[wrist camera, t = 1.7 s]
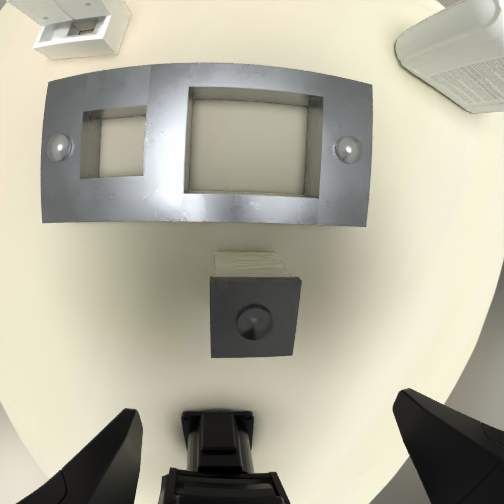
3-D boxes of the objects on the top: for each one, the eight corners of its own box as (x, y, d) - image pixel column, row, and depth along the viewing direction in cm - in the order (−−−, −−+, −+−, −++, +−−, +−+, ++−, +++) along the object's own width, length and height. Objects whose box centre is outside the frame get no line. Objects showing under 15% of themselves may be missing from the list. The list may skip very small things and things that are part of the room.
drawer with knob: (273, 308, 21) (293, 358, 15) (211, 308, 20) (211, 361, 14) (277, 249, 20) (303, 283, 14) (211, 248, 19) (209, 283, 13)
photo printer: (475, 83, 18) (573, 71, 6) (474, 120, 19) (580, 119, 7) (395, 27, 16) (496, -29, 4) (390, 65, 17) (509, 16, 5)
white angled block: (14, 20, 10) (3, -36, 3) (123, 28, 16) (159, -24, 10) (-2, 60, 11) (-26, 16, 4) (110, 66, 17) (139, 23, 11)
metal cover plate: (346, 218, 20) (368, 228, 17) (63, 215, 17) (39, 224, 14) (352, 94, 17) (375, 83, 14) (68, 91, 15) (45, 80, 12)
